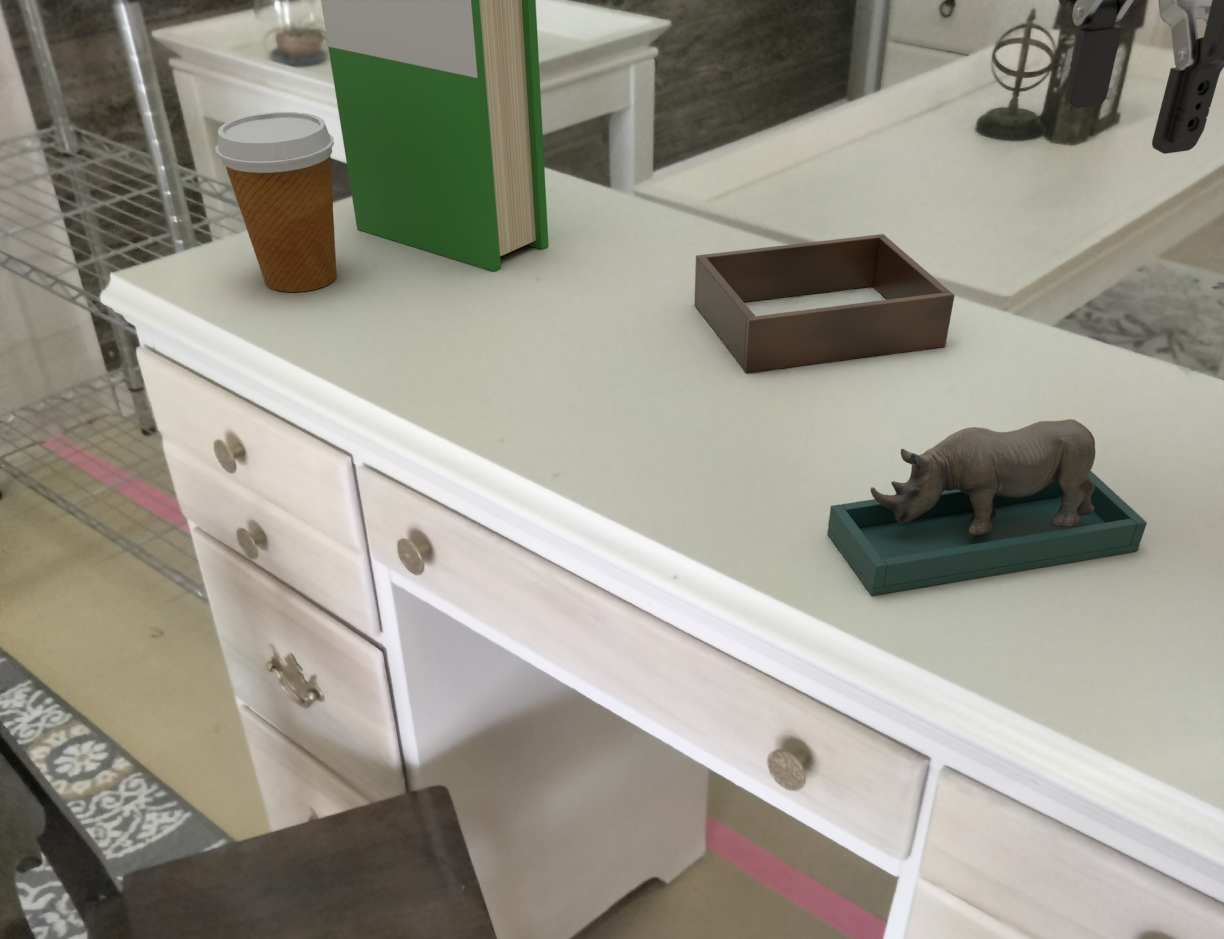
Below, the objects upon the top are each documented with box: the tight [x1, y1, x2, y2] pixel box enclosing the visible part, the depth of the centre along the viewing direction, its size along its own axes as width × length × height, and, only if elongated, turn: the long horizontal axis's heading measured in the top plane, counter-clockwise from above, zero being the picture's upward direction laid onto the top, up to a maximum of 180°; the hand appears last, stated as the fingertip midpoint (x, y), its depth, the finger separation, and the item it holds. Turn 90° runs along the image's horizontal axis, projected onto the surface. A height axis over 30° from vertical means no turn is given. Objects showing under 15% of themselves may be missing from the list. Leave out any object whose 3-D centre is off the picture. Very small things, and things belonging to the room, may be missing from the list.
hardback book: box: [320, 0, 549, 272], centre depth 104 cm, size 18×7×24 cm, turn 51°
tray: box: [827, 470, 1148, 596], centre depth 74 cm, size 17×7×2 cm, turn 104°
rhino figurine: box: [870, 418, 1096, 535], centre depth 72 cm, size 4×14×6 cm, turn 90°
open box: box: [693, 233, 955, 374], centre depth 96 cm, size 16×13×4 cm
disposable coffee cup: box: [215, 111, 338, 293], centre depth 102 cm, size 10×10×12 cm
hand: (1126, 126), depth 64 cm, fingers open, 8 cm apart
